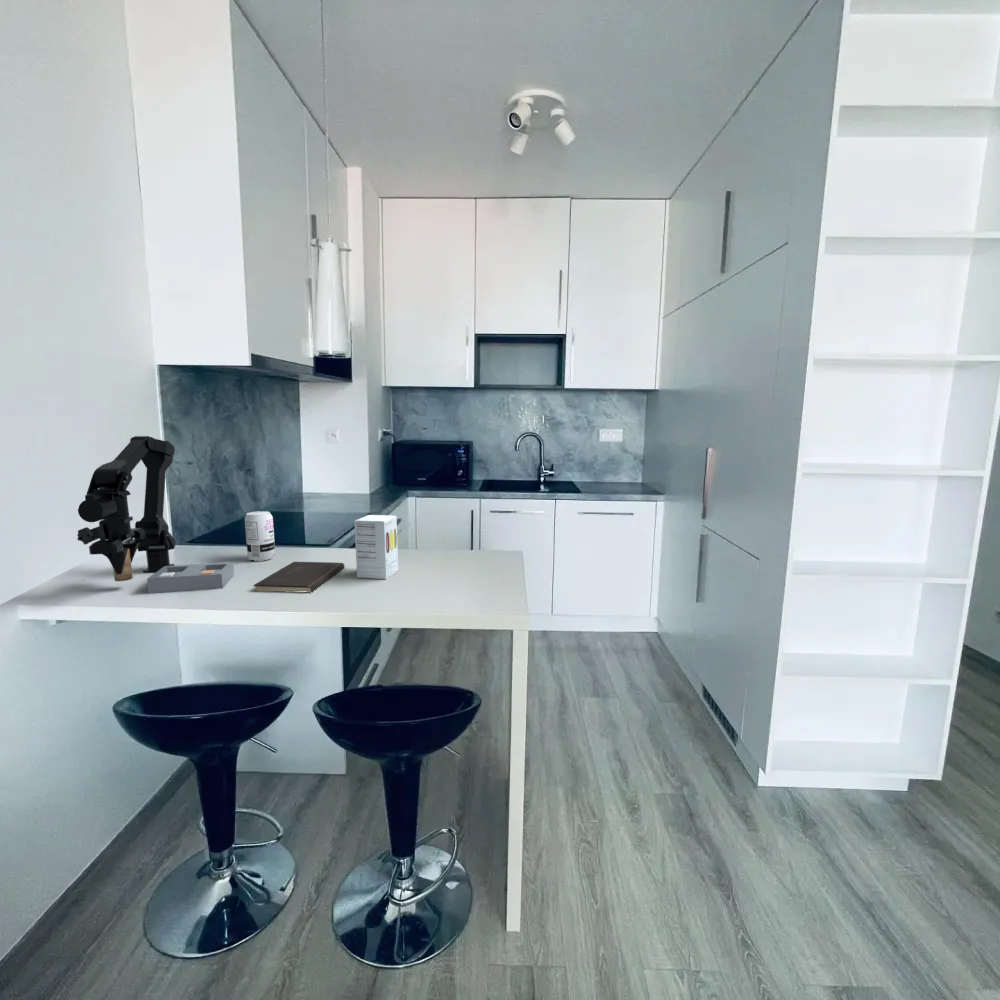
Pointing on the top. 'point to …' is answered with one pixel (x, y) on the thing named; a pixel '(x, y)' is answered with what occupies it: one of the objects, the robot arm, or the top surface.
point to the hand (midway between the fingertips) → (122, 571)
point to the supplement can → (260, 535)
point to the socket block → (190, 577)
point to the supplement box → (376, 546)
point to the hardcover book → (300, 576)
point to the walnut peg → (125, 569)
